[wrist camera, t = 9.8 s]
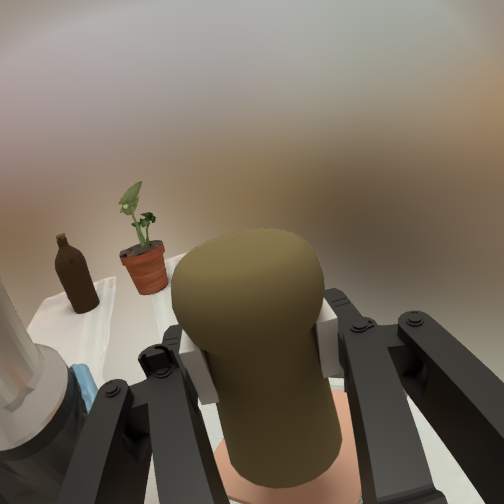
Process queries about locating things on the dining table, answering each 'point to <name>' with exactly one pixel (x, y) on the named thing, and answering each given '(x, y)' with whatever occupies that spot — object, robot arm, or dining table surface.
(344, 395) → the drop flap
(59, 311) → the dining table surface
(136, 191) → the potted plant
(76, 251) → the olive oil
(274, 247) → the cork
